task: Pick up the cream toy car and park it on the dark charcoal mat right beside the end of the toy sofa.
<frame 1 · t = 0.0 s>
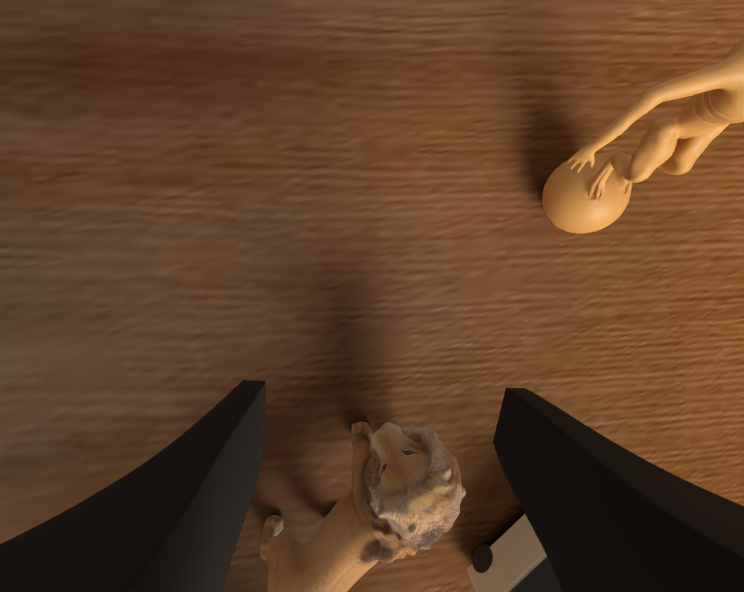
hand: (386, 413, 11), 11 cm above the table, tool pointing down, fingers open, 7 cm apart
figurine: (557, 180, 21), on the table
toy car: (523, 537, 25), on the table
lion figurine: (343, 463, 23), on the table
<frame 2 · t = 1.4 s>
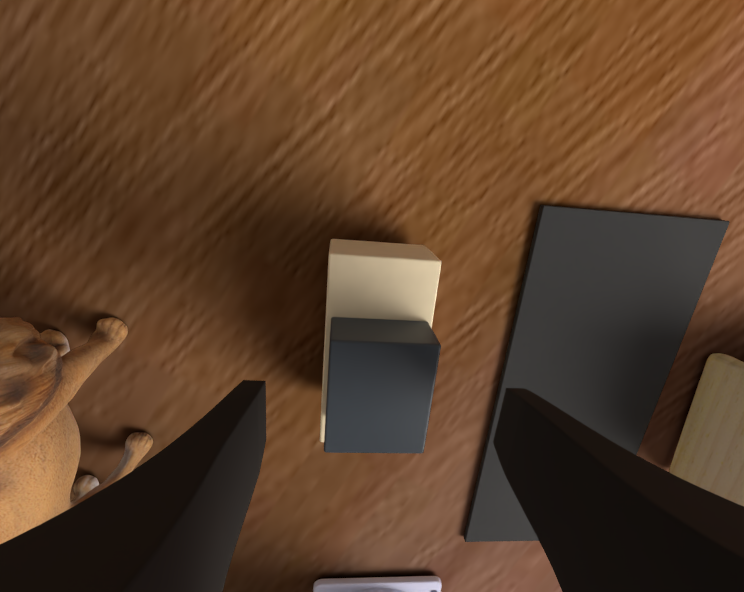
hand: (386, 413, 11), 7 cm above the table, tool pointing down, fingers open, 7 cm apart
mat: (575, 401, 20), on the table
toy car: (369, 323, 17), on the table
lion figurine: (89, 386, 17), on the table
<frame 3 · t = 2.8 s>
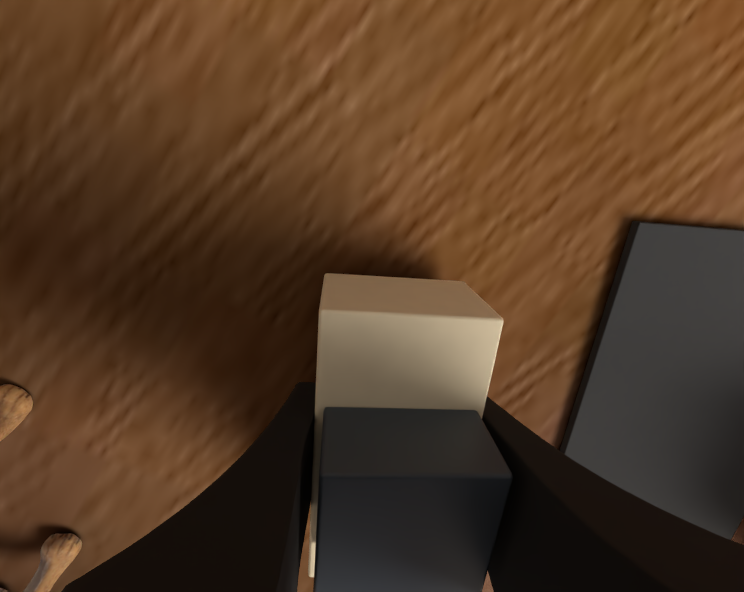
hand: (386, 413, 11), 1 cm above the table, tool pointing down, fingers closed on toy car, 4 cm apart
mat: (655, 479, 15), on the table
toy car: (380, 386, 12), on the table, touching gripper
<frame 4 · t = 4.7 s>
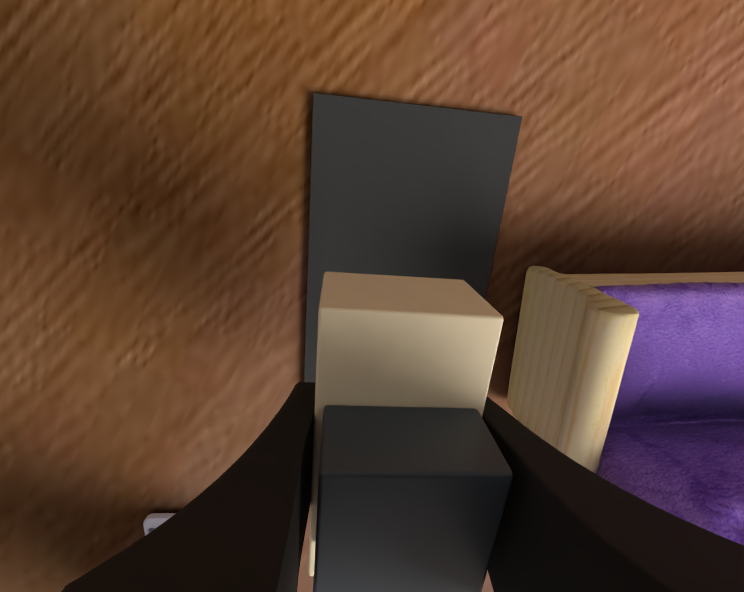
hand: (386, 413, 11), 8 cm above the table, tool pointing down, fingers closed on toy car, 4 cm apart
mat: (394, 320, 19), on the table
toy car: (380, 385, 12), point 7 cm above the table, touching gripper
toy sofa: (679, 330, 21), on the table
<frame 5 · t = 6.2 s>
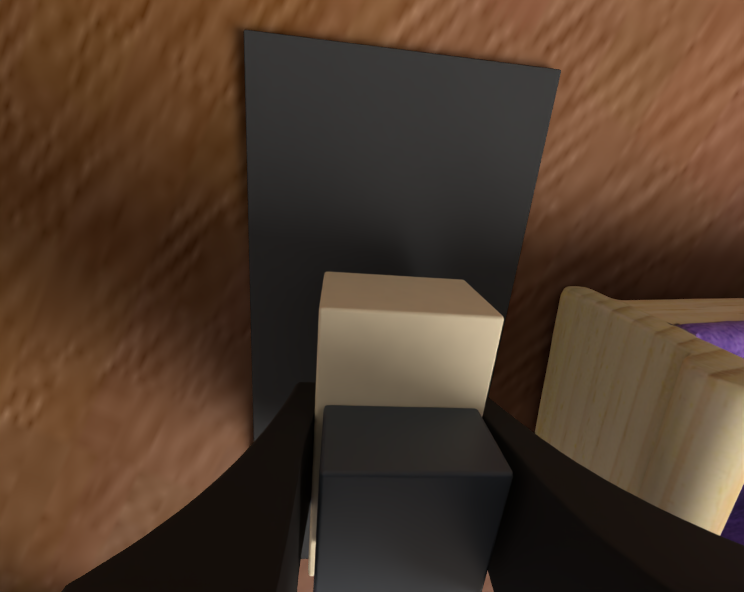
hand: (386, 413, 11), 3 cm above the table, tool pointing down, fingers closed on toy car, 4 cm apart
mat: (376, 361, 14), on the table
toy car: (380, 385, 12), point 2 cm above the table, touching gripper
when the fingers open (2 cm above the table, at t = 7.1 s): toy car stays where it is, resting on mat.
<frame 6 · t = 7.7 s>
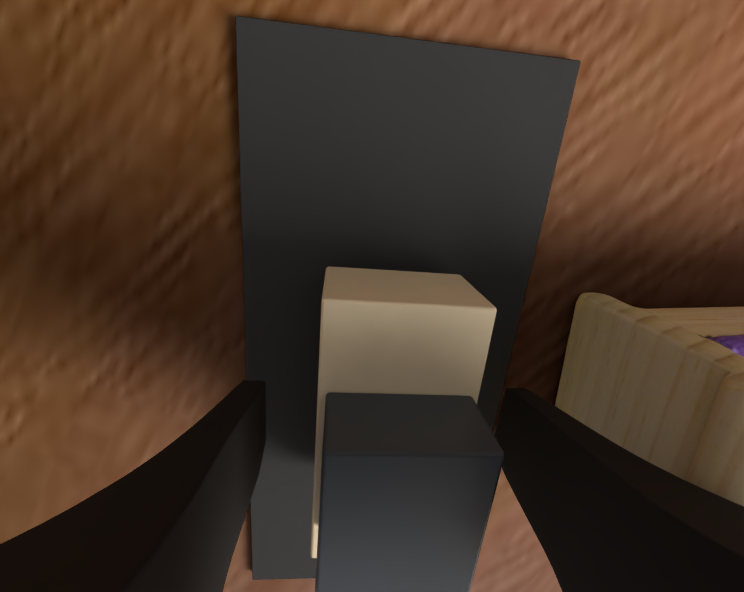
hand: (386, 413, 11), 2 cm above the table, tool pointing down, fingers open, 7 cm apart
mat: (379, 373, 13), on the table
toy car: (380, 376, 13), resting on mat
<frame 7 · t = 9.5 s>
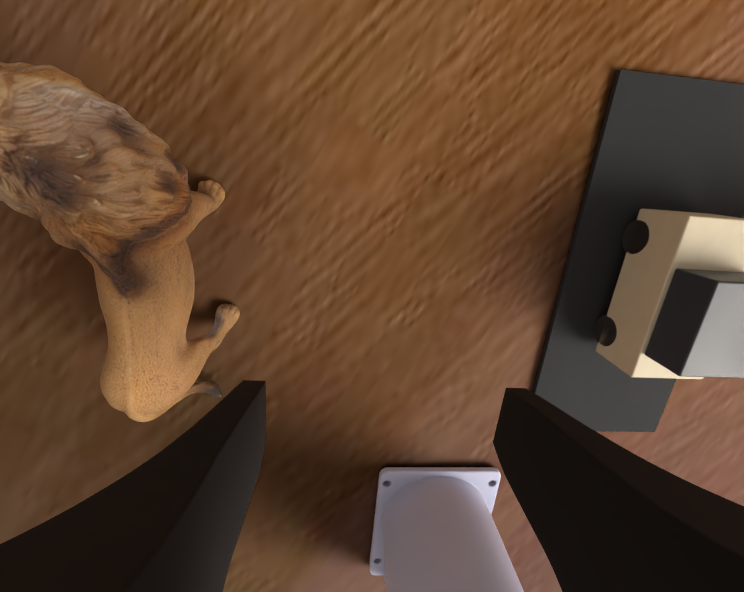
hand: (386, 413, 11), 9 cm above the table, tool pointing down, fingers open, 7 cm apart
mat: (636, 282, 21), on the table
toy car: (641, 283, 20), resting on mat
lion figurine: (183, 255, 18), on the table
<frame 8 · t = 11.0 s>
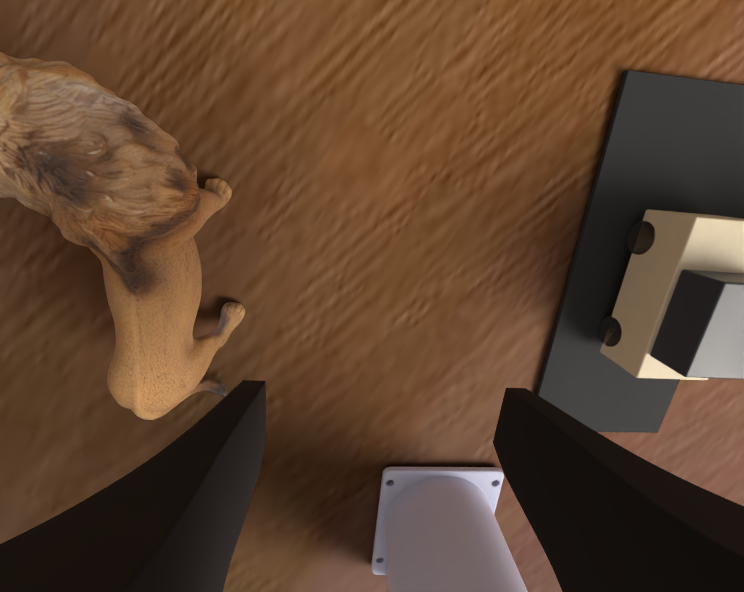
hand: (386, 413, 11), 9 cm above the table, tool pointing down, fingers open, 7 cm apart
mat: (641, 283, 21), on the table
toy car: (646, 283, 20), resting on mat
lion figurine: (189, 253, 18), on the table
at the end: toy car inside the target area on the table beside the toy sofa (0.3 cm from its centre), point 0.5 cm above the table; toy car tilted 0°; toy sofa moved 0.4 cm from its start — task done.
